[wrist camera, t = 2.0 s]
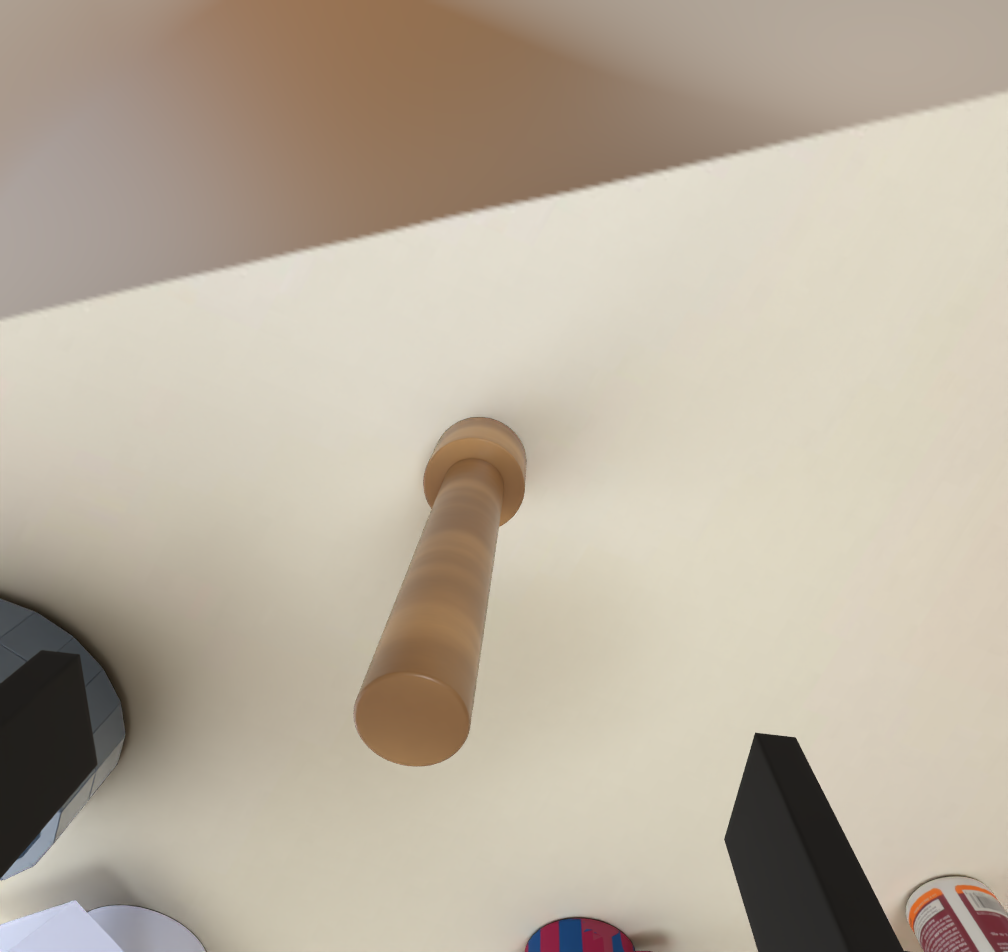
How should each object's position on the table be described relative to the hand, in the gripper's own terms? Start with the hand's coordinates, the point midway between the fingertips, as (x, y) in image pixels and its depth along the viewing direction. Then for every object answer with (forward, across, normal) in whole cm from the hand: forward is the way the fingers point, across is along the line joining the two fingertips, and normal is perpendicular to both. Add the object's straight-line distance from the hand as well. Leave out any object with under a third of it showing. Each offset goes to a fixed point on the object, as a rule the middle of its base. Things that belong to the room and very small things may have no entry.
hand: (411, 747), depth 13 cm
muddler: (+16, 0, 0) cm, 17 cm away
